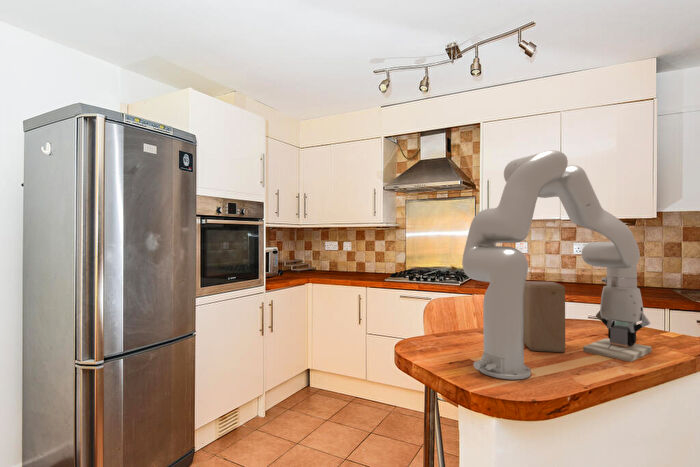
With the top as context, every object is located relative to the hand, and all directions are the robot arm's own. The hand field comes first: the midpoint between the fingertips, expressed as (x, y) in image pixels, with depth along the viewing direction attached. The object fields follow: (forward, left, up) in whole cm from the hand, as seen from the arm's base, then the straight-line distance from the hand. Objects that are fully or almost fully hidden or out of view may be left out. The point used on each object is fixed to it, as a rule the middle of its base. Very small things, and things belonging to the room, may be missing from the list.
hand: (622, 342), depth 116 cm
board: (-3, 0, -2) cm, 4 cm away
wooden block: (-17, +15, -2) cm, 23 cm away
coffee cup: (+17, +6, -2) cm, 18 cm away
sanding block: (0, 0, 0) cm, 0 cm away
